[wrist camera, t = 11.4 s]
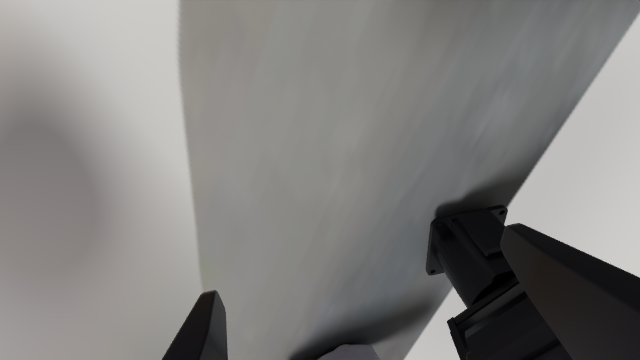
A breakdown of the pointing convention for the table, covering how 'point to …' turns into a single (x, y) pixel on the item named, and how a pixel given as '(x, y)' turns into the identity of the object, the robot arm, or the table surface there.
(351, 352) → the stone block
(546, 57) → the table surface
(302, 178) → the table surface
